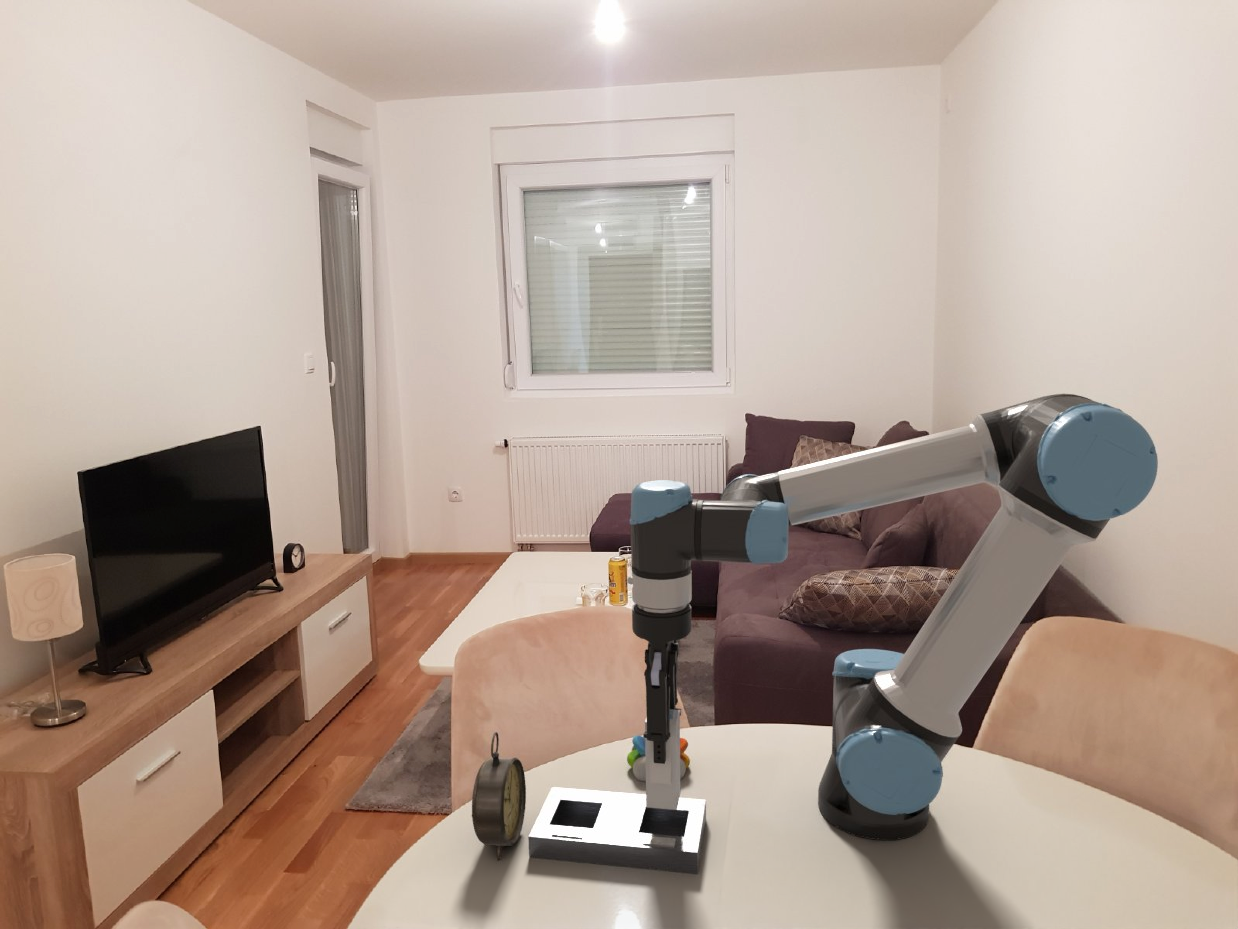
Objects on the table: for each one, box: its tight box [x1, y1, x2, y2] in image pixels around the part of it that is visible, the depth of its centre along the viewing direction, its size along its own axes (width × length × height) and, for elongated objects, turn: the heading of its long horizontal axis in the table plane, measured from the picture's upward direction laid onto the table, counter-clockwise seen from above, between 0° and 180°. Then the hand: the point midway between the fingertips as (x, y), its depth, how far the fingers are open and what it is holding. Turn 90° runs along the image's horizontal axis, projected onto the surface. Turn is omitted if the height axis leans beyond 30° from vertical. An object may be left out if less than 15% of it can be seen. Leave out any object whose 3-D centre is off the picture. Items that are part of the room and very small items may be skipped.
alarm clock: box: [471, 731, 527, 862], centre depth 118 cm, size 11×5×16 cm, turn 171°
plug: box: [644, 709, 681, 810], centre depth 116 cm, size 4×4×13 cm
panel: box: [528, 786, 707, 875], centre depth 119 cm, size 22×12×4 cm, turn 79°
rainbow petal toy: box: [626, 734, 691, 783], centre depth 136 cm, size 8×10×7 cm
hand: (663, 772), depth 116 cm, fingers closed on plug, 4 cm apart
